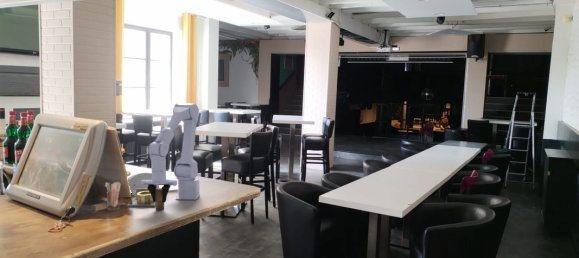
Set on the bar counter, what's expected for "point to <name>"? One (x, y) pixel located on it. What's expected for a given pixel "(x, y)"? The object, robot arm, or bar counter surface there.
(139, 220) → the bar counter surface
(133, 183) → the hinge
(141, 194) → the cup bracket
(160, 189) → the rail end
